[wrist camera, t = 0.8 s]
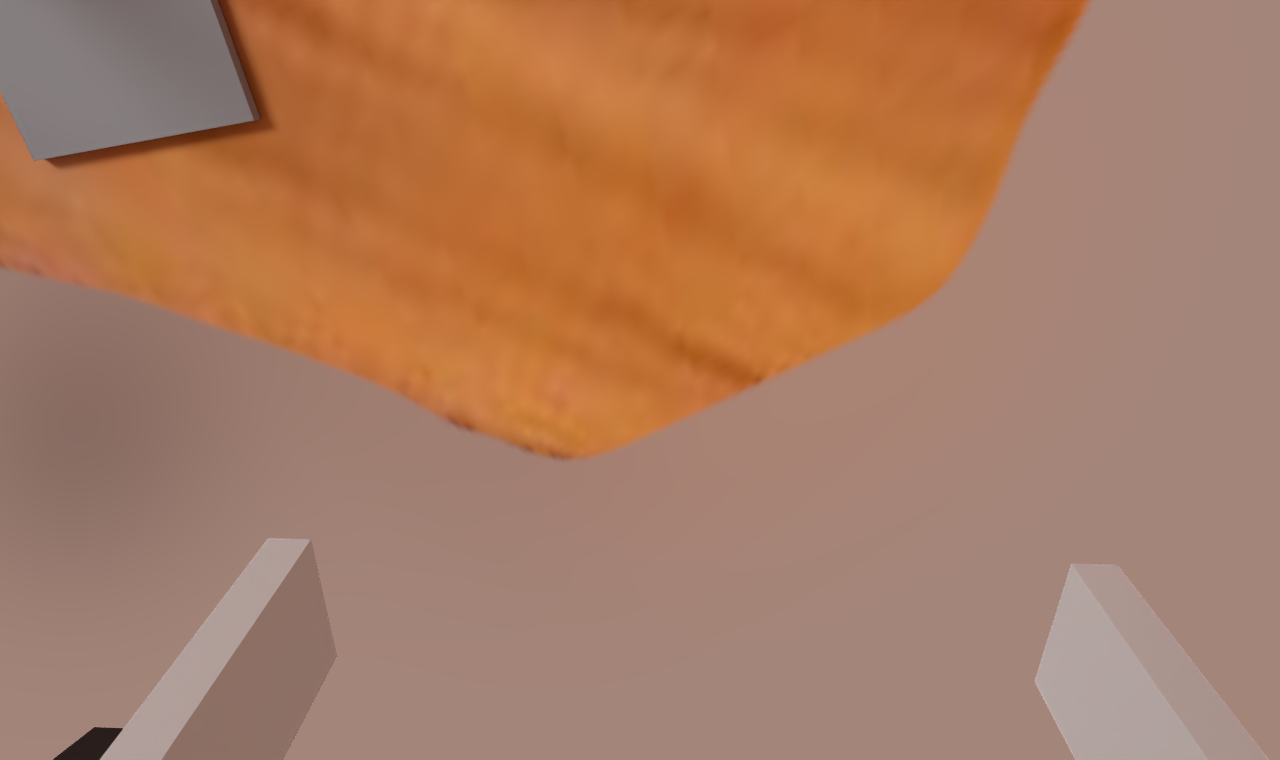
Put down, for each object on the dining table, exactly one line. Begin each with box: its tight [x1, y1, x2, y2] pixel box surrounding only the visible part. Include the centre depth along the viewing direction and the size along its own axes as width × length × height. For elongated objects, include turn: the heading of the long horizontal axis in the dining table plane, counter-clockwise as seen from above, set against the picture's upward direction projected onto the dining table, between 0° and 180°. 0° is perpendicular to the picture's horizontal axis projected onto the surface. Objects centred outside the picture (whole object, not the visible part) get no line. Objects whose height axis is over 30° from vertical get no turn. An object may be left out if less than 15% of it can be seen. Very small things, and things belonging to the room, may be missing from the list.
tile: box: [0, 0, 260, 161], centre depth 34 cm, size 11×11×1 cm
